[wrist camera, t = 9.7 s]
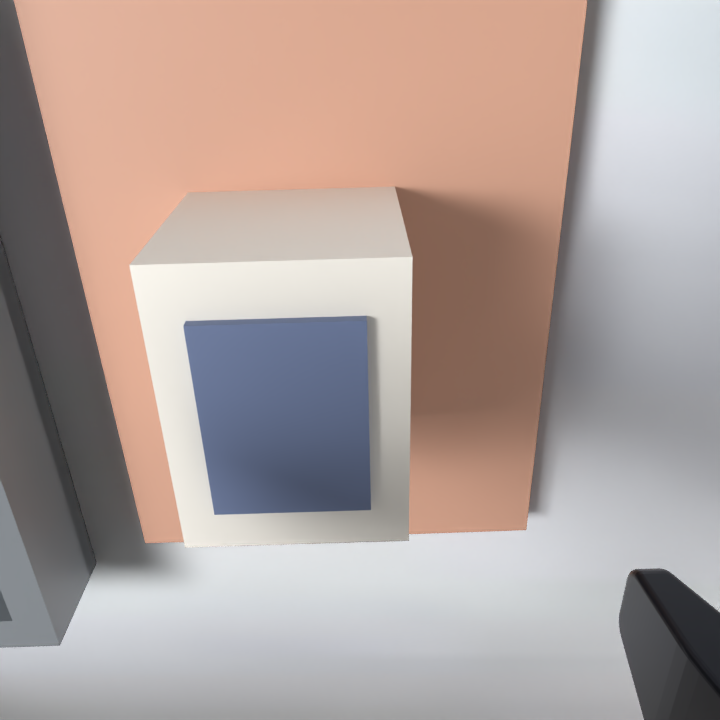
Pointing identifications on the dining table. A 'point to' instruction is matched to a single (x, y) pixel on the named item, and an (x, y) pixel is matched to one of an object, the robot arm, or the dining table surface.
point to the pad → (333, 170)
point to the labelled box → (282, 363)
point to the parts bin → (34, 497)
